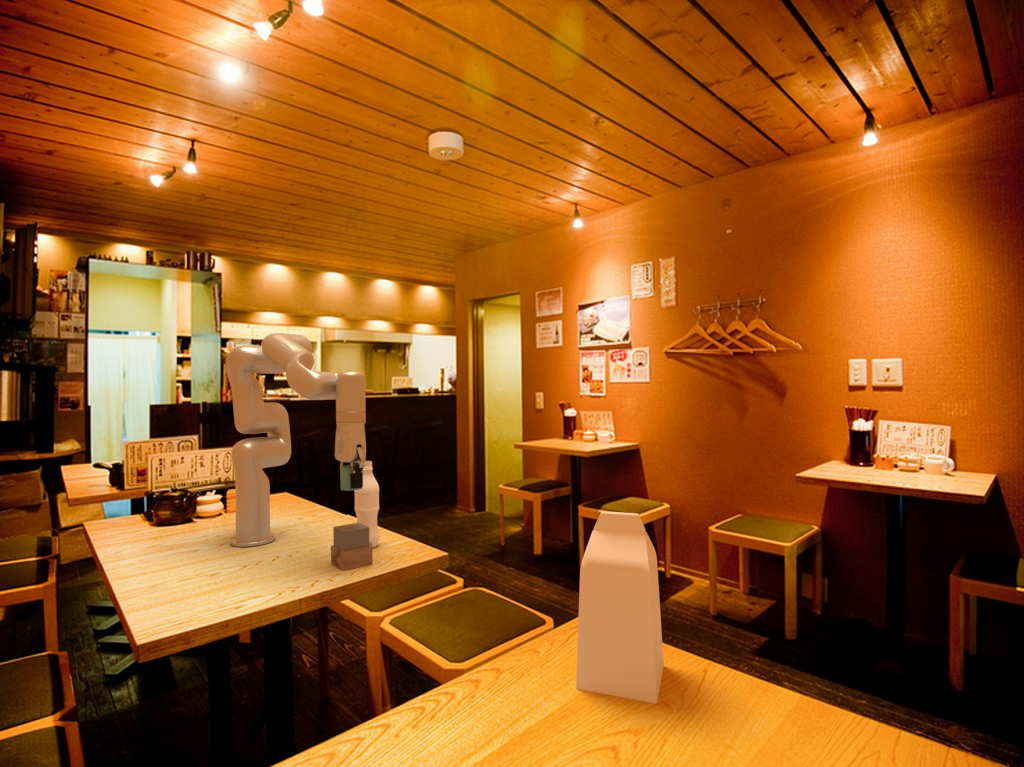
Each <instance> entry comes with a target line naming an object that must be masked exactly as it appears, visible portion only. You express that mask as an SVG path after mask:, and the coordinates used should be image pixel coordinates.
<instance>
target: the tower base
mask: <svg viewBox="0 0 1024 767" xmlns="http://www.w3.org/2000/svg"><path fill="white" fill-rule="evenodd" d="M330 564H331V565H332V566H334V567H335V568H337V569H338V570H341V571H342V572H346V571H349V570H354V569H355V570H356V569H359V568H364V567H368V566H372V565H373V548H372V546H370V545H369V547H364V548H359V549H354V550H349V551H344V552H343V551H342V550H340V549H338V548H337V547H335V546H334V544H333V545H331V546H330Z"/></svg>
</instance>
